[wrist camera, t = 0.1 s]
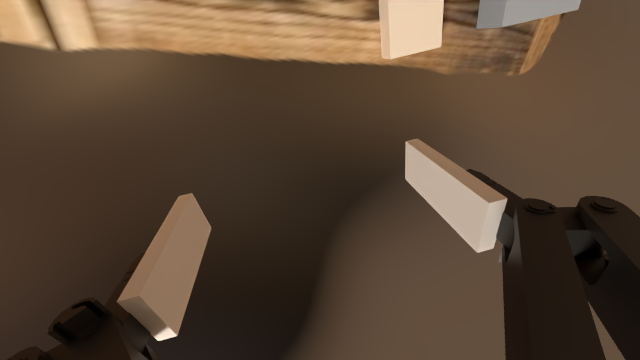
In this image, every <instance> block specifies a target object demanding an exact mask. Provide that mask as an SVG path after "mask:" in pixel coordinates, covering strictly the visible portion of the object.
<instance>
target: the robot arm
mask: <svg viewBox="0 0 640 360" xmlns="http://www.w3.org/2000/svg"><path fill="white" fill-rule="evenodd" d="M405 171H406V172H405V173H406V175H405V179H406V180H407V181H408V182H409V183H410V184H411V185H412V186H413V187H414V188H415V189H416V191H418V192H419V194H420V195H421V196H422V197H423V198H424V199H425V200H426V201H427V202H428V203H429V204H430V205H431V206H432V207H433V208H434V209H435V210H436V211H437V212H438V213H439V214H440V215H441V216H442V217H443V218H444V219H445V220H446V221H447V222H448V223H449V224H450V225H451V226H452V227H453V228H454V229H455V230H456V231H457V232H458V234H460V235H461V237H462V238H463V239H464V240H465V241H466V242H467V243H468V244H469V245H470V246H471V247H472V248H473V249H474V250H475V251H476V252H477V253H478V252H482V251H485V250H489V249H493V248H494V244H495V241H496V238H497V239H498V240H499V241H500V242H501V243H502V244H503V248H502V251H501V254H500V257H499V261H498V262H502V272H503V300H504V328H505V355H506V360H606V359H605V355H604V352H603V349H602V346H601V343H600V339H599V336H598V333H597V330H596V326H595V323H594V320H593V317H592V313H591V310H590V307H589V304H588V302H589V303H590V305H591V306H592V308H593V309H594V311H595V313H596V314H597V316H598V317H599V319H600V321H601V322H602V324H603V325H604V327H605V328H606V330H607V332H608V333H609V335H610V336H611V338H612V339H613V341H614V342H615V344H616V346H617V347H618V349H619V350H620V352H621V353H622V355H623V357H624V358H625V359H626V360H640V217H639V216H638V215H636V214H635V213H634V212H633V211H632V210H631V209H629V208H628V207H627V206H625V205H624V204H622V203H620V202H618V201H615V200H613V199H610V198H606V197H599V196H585V197H583V198H580V200H579V202H578V204H577V206H576V207H560V208H559V207H558V208H557V207H555V206H554V205H552V204H550V203H548V202H546V201H543V200H539V199H531V198H526V199H522V198H521V197H519V196H517V195H516V194H514V193H513V192H511V191H509V190H508V189H506V188H505V187H503V186H501V185H500V184H497V183H496V182H495V181H493V180H492V179H491V180H490V178H489V177H487V176H485V175H484V174H482V173H480V172H477V171H474V170H471V169H469V170H464V169H462V168H461V167H459V166H458V165H456V164H455V163H453V162H452V161H450V160H449V159H447V158H446V157H444V156H443V155H441V154H440V153H438V152H437V151H435V150H434V149H432V148H431V147H429V146H428V145H426V144H425V143H423V142H422V141H420V140H419V139H414V140H410V141H406V170H405ZM210 231H211V226H210V225H209V223H208V221H207V219H206V218H205V216H204V214H203V212H202V210H201V208H200V207H199V205H198V203H197V201H196V199H195V198H194V196H193V194H192V193H191V194H187V195H182V196H179V197H178V199H177V200H176V202H175V204H174V206H173V207H172V209H171V211H170V212H169V214H168V216H167V217H166V219H165V221H164V222H163V224H162V226H161V228H160V229H159V231H158V232H157V234H156V236H155V238H154V239H153V241H152V243H151V244H150V246H149V248H148V250H147V251H146V252H144V253H141V254H140V255H139V256H138V257H137V258H136V259H135V260H134V261H133V262H132V263H131V264H130V266H129V268H128V269H127V271H126V274H125V275H124V276H123V277H122V279H121V280H120V283H119V284H118V285H117V287H116V288H115V290H114V292H113V293H112V295H111V296H110V298H109V300H108V301H107V303H106V304H105V306H103V305H102V304H101V303H100V302H98V301H97V300H96V299H95V298H93V297H91V298H85V299H82V300H80V301H78V302H76V303H74V304H72V305H71V306H69V307H68V308H67V309H65V310H64V311H63V312H61V313H60V314H59V315H58V316H57V318H56V319H55V320H54V321H53V322H52V324H51V325H50V327H49V330H48V334H49V335H50V336H52V337H54V338H55V339H56V340H58V341H59V342H61V343H62V344H60V345H58V346H56V347H54V348H52V349H50V350H48V351H47V352H44V351H43V350H41V349H40V348H38V347H36V346H34V347H28V348H26V349H24V350H22V351H19V352H18V353H16V354H15V355H13V356H12V357H10V358H9V359H7V360H157V359H156V358H155V355H154V354H153V351H152V350H151V348H150V347H149V346H148V345H147V344H146V343H147V341H148V338H149V336H150V334H151V335H152V336H153V337H154V338H155V339H157V340H158V341H160V340H164V339H167V338H171V337H175V336H177V335H178V332H179V329H180V325H181V322H182V319H183V316H184V313H185V310H186V306H187V303H188V300H189V297H190V294H191V291H192V287H193V284H194V281H195V278H196V275H197V272H198V268H199V265H200V262H201V259H202V256H203V253H204V250H205V246H206V243H207V240H208V237H209V234H210ZM587 300H588V301H587Z"/></svg>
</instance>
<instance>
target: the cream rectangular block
mask: <svg viewBox="0 0 640 360" xmlns="http://www.w3.org/2000/svg"><path fill="white" fill-rule="evenodd" d="M443 6H444V0H379V13H380V31H381V50H382V58H386V59H393V58H397V57H402V56H406V55H410V54H414V53H418V52H422V51H426V50H430V49H435V48H439V47H441V38H442V22H443Z"/></svg>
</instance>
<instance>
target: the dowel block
mask: <svg viewBox="0 0 640 360" xmlns="http://www.w3.org/2000/svg"><path fill="white" fill-rule="evenodd" d="M580 2H581V0H480V5H479V13H478V20H477V28H476V29H481V28H499V27H505V26H510V25H514V24H518V23H522V22H527V21H531V20H535V19H540V18H544V17H548V16H553V15H557V14H561V13H565V12H570V11H574V10H578V8H579V5H580Z"/></svg>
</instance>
